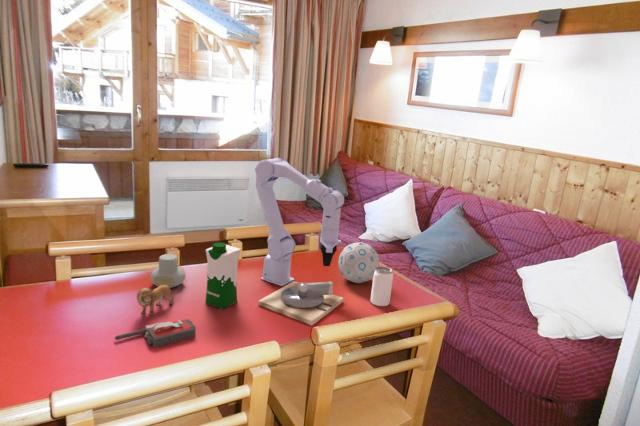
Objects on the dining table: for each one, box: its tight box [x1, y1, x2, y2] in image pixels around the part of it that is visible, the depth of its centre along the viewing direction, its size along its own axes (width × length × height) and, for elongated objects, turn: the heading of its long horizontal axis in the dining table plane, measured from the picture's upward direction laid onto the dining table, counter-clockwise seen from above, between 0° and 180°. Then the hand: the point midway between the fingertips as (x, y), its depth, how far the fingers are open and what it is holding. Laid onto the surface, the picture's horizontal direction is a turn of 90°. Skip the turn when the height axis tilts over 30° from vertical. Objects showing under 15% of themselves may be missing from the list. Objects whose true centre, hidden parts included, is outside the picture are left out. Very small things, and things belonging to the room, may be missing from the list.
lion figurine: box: [136, 285, 175, 316], centre depth 132 cm, size 15×5×9 cm, turn 163°
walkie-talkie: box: [114, 318, 196, 348], centre depth 119 cm, size 9×4×20 cm
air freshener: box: [150, 253, 186, 289], centre depth 149 cm, size 11×8×10 cm
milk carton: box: [205, 241, 242, 310], centre depth 139 cm, size 9×9×20 cm
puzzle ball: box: [338, 241, 380, 284], centre depth 166 cm, size 15×15×15 cm
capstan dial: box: [281, 281, 334, 309], centre depth 145 cm, size 17×14×5 cm
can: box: [370, 266, 394, 308], centre depth 150 cm, size 6×6×12 cm
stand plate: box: [257, 280, 344, 326], centre depth 146 cm, size 20×20×2 cm
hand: (326, 265), depth 152 cm, fingers closed
